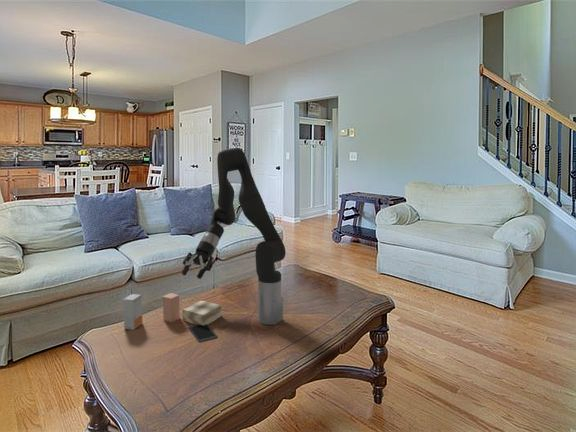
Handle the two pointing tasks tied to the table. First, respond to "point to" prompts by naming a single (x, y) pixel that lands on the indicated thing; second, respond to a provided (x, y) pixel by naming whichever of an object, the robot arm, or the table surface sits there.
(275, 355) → the table surface
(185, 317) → the birch riser
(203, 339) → the cell phone
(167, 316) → the terracotta block
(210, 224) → the robot arm
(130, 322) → the skincare box
